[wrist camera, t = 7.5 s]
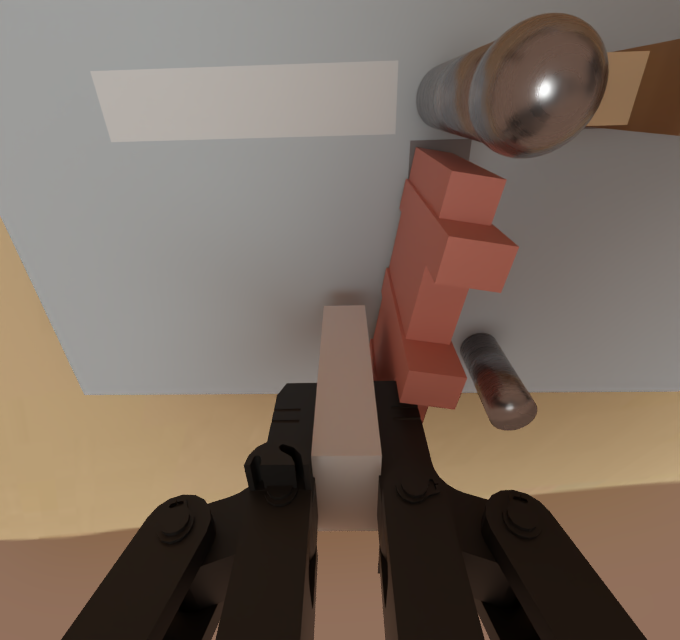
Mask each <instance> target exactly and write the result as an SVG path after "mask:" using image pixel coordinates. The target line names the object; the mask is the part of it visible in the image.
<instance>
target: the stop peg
mask: <svg viewBox="0 0 680 640" xmlns="http://www.w3.org/2000/svg"><path fill="white" fill-rule="evenodd" d="M460 354H461V356H462V359H463V361H464V363H465V365H466V368H467V370H468V372H469V374H470V377H471V379H472V381H473V384H474V386H475V388H476V390H477V393H478V395H479V397H480V399H481V402H482V404H483V406H484V408H485V411H486V413H487V415H488V418H489V420H490V422H491V424H492V425H493V426H495V427H496V428H498V429H501V430H516V429H520V428H522V427H524V426H526V425H528V424H529V423H530V422H531V421H532V420H533V419H534V418H535V416H536V414H537V406H536V404H535V402H534V400H533V399H532V397H531V396H530V394H529V392H528V391H527V389H526V388H525V386H524V384H523V383H522V381H521V379H520V378H519V376H518V375H517V373H516V371H515V370H514V368H513V366H512V365H511V363H510V362H509V360H508V358H507V357H506V355H505V354H504V352H503V350H502V349H501V347H500V345H499V344H498V342H497V341H496V339H495V338H494V337H493V336H492V335H490V334H487V333H476V334H473V335H471V336H469V337H467V338H466V339H465V340H464V341H463V343H462V344H461V347H460Z"/></svg>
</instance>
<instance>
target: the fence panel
mask: <svg viewBox="0 0 680 640" xmlns="http://www.w3.org/2000/svg"><path fill="white" fill-rule="evenodd" d="M506 181H507V180H506V179H504V178H502V177H500V176H498V175H496V174H494V173H492V172H490V171H488V170H486V169H484V168H482V167H480V166H478V165H476V164H474V163H472V162H469V161H467V160H465V159H463V158H461V157H459V156H457V155H455V154H453V153H449V152H443V151H437V150H431V149H425V148H418V147H416V149H415V154H414V158H413V162H412V167H411V171H410V176H409V179H406V180H405V185H404V189H403V194H402V199H401V203H400V208H399V209H400V211H401V216H400V221H399V225H398V230H397V234H396V238H395V243H394V247H393V252H392V256H391V261H390V265H389V268H386V271H385V276H384V280H383V285H382V290H381V293H382V301H381V306H380V310H379V315H378V319H377V323H376V328H375V332H374V337H373V339H371V340H370V344H369V346H370V355H371V364H372V373H373V381H396V383H397V389H398V395H399V401H400V403H408V404H416V405H418V409H419V413H420V417H421V421H422V423H423V420H424V417H425V414H426V411H427V409H428V406H431V407H439V408H447V409H455V408H456V405H457V403H458V400H459V398H460V395H461V393H462V390H463V388H464V385H465V383H466V380H467V376H466V374H465V371H464V369H463V367H462V364H461V362H460V360H459V357H458V355H457V353H456V350H455V348H454V346H453V343H452V341H451V339H452V336H453V334H454V331H455V328H456V325H457V322H458V319H459V316H460V313H461V311H462V308H463V305H464V302H465V299H466V296H467V293H468V290H469V288H470V289H477V290H484V291H490V292H497V293H501V292H502V289H503V287H504V284H505V282H506V279H507V277H508V274H509V272H510V269H511V266H512V264H513V261H514V259H515V256H516V254H517V251H518V249H519V246H518V245H516V244H515V243H514V242H513V241H512V240H511V239H509V238H508V237H507V236H506V235H505V234H503V233H502V232H501V231H500V230H499V229H498V228H496V227H495V226H494V225H493V224H492V221H493V218H494V215H495V212H496V210H497V207H498V204H499V201H500V198H501V195H502V192H503V189H504V187H505V184H506Z"/></svg>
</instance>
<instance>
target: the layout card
mask: <svg viewBox="0 0 680 640" xmlns="http://www.w3.org/2000/svg"><path fill="white" fill-rule="evenodd" d="M545 13H565V14H570V15H574V16H576V17H579V18H581V19H582V20H584V21H585V22H587V23H588V24H590V25H591V26H592V27H593V28H594V29H595V30H596V31H597V33H598V34H599V35H600V37H601V39H602V41H603V43H604V45H605V48H606V51H607V52H615V51H620V50H625V49H630V48H635V47H640V46H645V45H650V44H656V43H661V42H666V41H671V40H676V39H680V0H0V216H1V218H2V220H3V222H4V225H5V227H6V229H7V231H8V233H9V235H10V237H11V239H12V242H13V244H14V246H15V248H16V250H17V252H18V254H19V257H20V259H21V261H22V263H23V265H24V267H25V269H26V271H27V274H28V276H29V278H30V280H31V282H32V284H33V286H34V288H35V291H36V293H37V295H38V297H39V299H40V301H41V303H42V305H43V308H44V310H45V312H46V314H47V316H48V318H49V320H50V323H51V325H52V327H53V329H54V331H55V333H56V335H57V337H58V340H59V342H60V344H61V346H62V348H63V350H64V352H65V354H66V357H67V359H68V361H69V363H70V365H71V367H72V369H73V371H74V374H75V376H76V378H77V380H78V382H79V384H80V386H81V389H82V391H83V393H84V395H157V394H279V392H280V391H281V390H282V389H283V387H284V386H285V385H286V383H317V380H318V368H319V356H320V344H321V332H322V321H323V309H324V306H349V305H365V311H366V320H367V328H368V337H369V344H370V340H371V339H373V337H374V332H375V328H376V323H377V319H378V315H379V310H380V306H381V301H382V293H381V290H382V285H383V280H384V276H385V271H386V268H389V265H390V261H391V256H392V252H393V247H394V243H395V238H396V234H397V230H398V225H399V221H400V216H401V211H400V209H399V208H400V203H401V199H402V194H403V189H404V185H405V180H406V179H409V176H410V171H411V167H412V162H413V158H414V154H415V149H416V147H418V148H425V149H431V150H437V151H443V152H449V153H453V154H455V155H457V156H459V157H461V158H463V159H465V160H467V161H469V162H472V163H474V164H476V165H478V166H480V167H482V168H484V169H486V170H488V171H490V172H492V173H494V174H496V175H498V176H500V177H502V178H504V179H506V180H507V181H506V184H505V187H504V189H503V192H502V195H501V198H500V201H499V204H498V207H497V210H496V212H495V215H494V218H493V221H492V224H493V225H494V226H495V227H496V228H498V229H499V230H500V231H501V232H502V233H503V234H505V235H506V236H507V237H508V238H509V239H511V240H512V241H513V242H514V243H515V244H516V245H518V246H519V249H518V251H517V254H516V256H515V259H514V261H513V264H512V266H511V269H510V272H509V274H508V277H507V279H506V282H505V284H504V287H503V289H502V292H501V293H497V292H490V291H484V290H477V289H470V288H469V290H468V293H467V296H466V299H465V302H464V305H463V308H462V311H461V313H460V316H459V319H458V322H457V325H456V328H455V331H454V334H453V336H452V339H451V341H452V343H453V346H454V348H455V350H456V353H457V355H458V357H459V360H460V362H461V364H462V367H463V369H464V371H465V374H466V376H467V380H466V383H465V385H464V388H463V390H462V393H477V390H476V388H475V386H474V384H473V381H472V379H471V377H470V374H469V372H468V370H467V368H466V365H465V363H464V361H463V359H462V356H461V354H460V347H461V344H462V343H463V341H464V340H465V339H466V338H467V337H469V336H471V335H473V334H476V333H487V334H490V335H492V336H493V337H494V338H495V339H496V341H497V342H498V344H499V345H500V347H501V349H502V350H503V352H504V354H505V355H506V357H507V358H508V360H509V362H510V363H511V365H512V366H513V368H514V370H515V371H516V373H517V375H518V376H519V378H520V379H521V381H522V383H523V384H524V386H525V388H526V389H527V391H528V392H667V391H680V136H675V135H665V134H655V133H645V132H635V131H625V130H615V129H605V128H595V127H585V128H584V129H583V130H582V131H581V132H580V133H579V134H578V135H577V136H576V137H575V138H573V139H572V140H571V141H570V142H568V143H567V144H565V145H564V146H562V147H561V148H559V149H557V150H555V151H553V152H551V153H548V154H545V155H543V156H538V157H534V158H527V159H517V158H510V157H505V156H503V155H500V154H498V153H496V152H494V151H492V150H491V149H489V148H488V147H487V146H486V145H485V144H484V143H481V142H478V141H475V140H471V139H468V138H464V137H461V136H458V135H454V134H451V133H448V132H444V131H441V130H438V129H434V128H432V127H430V126H428V125H427V124H425V123H424V122H423V121H422V119H421V118H420V116H419V114H418V111H417V107H416V94H417V89H418V87H419V84H420V82H421V80H422V79H423V77H424V76H425V75H426V73H427V72H429V71H430V70H431V69H432V68H434V67H435V66H437V65H440V64H442V63H444V62H447V61H449V60H451V59H453V58H456V57H458V56H460V55H463V54H465V53H467V52H470V51H472V50H474V49H477V48H479V47H481V46H484V45H486V44H488V43H491V42H493V41H495V40H496V39H497V38H498V37H500V36H501V35H502V34H503V33H504V32H505V31H507V30H508V29H509V28H511V27H512V26H514V25H516V24H517V23H519V22H521V21H523V20H525V19H527V18H530V17H533V16H537V15H540V14H545Z"/></svg>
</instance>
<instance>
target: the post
mask: <svg viewBox="0 0 680 640" xmlns="http://www.w3.org/2000/svg"><path fill="white" fill-rule="evenodd" d="M608 74H609V62H608V55H607V51H606V48H605V45H604V43H603V41H602V39H601V37H600V35H599V34H598V33H597V31H596V30H595V29H594V28H593V27H592V26H591V25H590V24H588V23H587V22H585V21H584V20H582V19H581V18H579V17H576V16H574V15H570V14H565V13H545V14H540V15H537V16H533V17H530V18H527V19H525V20H523V21H521V22H519V23H517V24H516V25H514V26H512V27H511V28H509V29H508V30H507V31H505V32H504V33H503V34H502V35H501V36H500V37H498V38H497V39H496V40H495V41H493V42H491V43H488V44H486V45H484V46H481V47H479V48H477V49H474V50H472V51H470V52H467V53H465V54H463V55H460V56H458V57H456V58H453V59H451V60H449V61H447V62H444V63H442V64H440V65H437V66H435V67H434V68H432V69H431V70H430V71H429V72H427V73H426V75H425V76H424V77H423V79H422V80H421V82H420V84H419V87H418V89H417V94H416V107H417V111H418V114H419V116H420V118H421V119H422V121H423V122H424V123H425V124H427V125H428V126H430V127H432V128H434V129H438V130H441V131H444V132H448V133H451V134H454V135H458V136H461V137H464V138H468V139H471V140H475V141H478V142H481V143H484V144H485V145H486V146H487V147H488V148H489V149H491V150H492V151H494V152H496V153H498V154H500V155H503V156H505V157H510V158H517V159H527V158H534V157H538V156H543V155H545V154H548V153H551V152H553V151H555V150H557V149H559V148H561V147H562V146H564V145H565V144H567V143H568V142H570V141H571V140H572V139H573V138H575V137H576V136H577V135H578V134H579V133H580V132H581V131H582V130H583V129H584V128H585V126H586V125H587V124H588V123H589V122H590V120H591V119H592V117H593V116H594V115H595V113H596V111H597V109H598V108H599V106H600V104H601V101H602V99H603V97H604V93H605V90H606V87H607V82H608Z"/></svg>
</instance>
